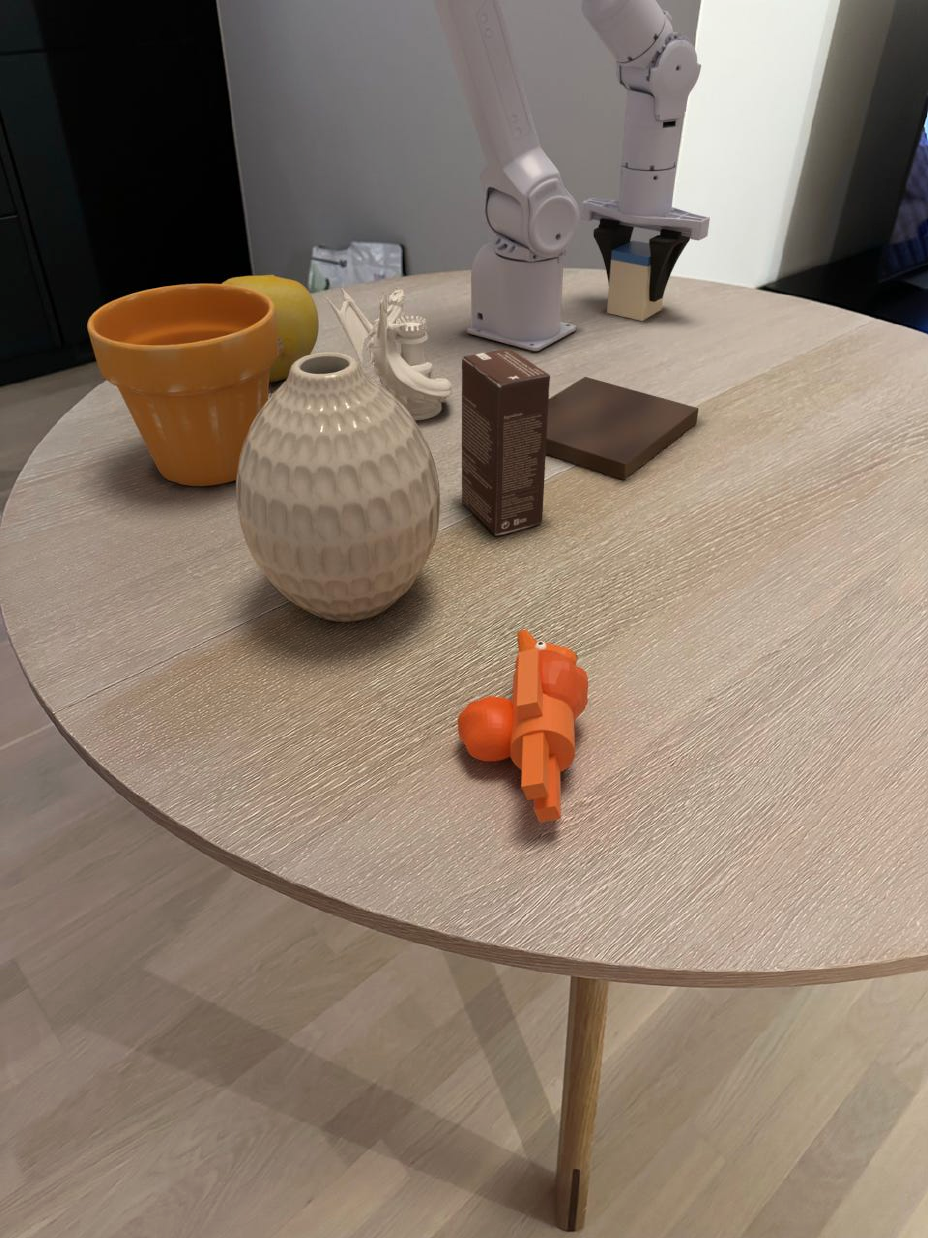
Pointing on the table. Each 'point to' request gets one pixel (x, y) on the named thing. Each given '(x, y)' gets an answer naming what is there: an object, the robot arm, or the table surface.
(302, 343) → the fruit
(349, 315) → the figurine
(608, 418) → the board
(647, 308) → the carton
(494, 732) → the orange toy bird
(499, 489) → the box
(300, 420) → the vase
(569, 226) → the robot arm
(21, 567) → the table surface
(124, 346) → the flower pot
